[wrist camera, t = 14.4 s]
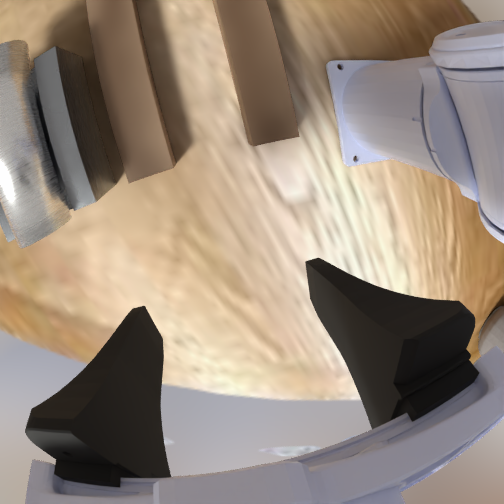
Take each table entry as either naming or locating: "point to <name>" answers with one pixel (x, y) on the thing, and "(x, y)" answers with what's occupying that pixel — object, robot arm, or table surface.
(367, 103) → the robot arm
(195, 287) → the table surface
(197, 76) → the table surface
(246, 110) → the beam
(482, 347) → the coffee pot
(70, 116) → the v block
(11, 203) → the axle
